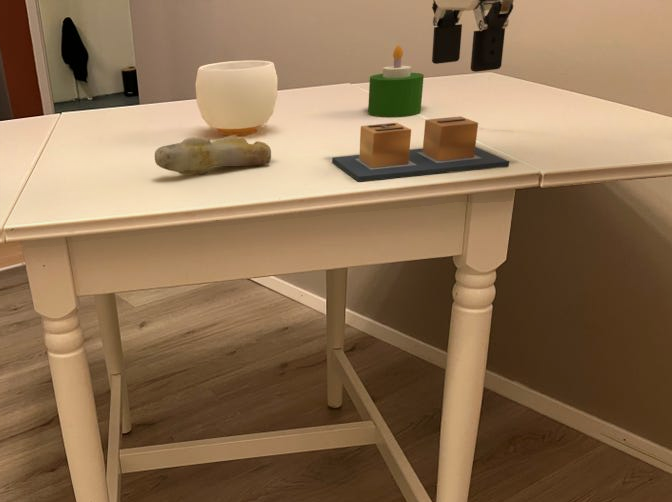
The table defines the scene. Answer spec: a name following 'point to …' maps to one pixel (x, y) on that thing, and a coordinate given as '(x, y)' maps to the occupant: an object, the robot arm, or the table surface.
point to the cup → (236, 95)
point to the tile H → (385, 145)
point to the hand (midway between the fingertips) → (464, 66)
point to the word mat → (417, 165)
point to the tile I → (450, 138)
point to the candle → (395, 90)
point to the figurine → (211, 154)
